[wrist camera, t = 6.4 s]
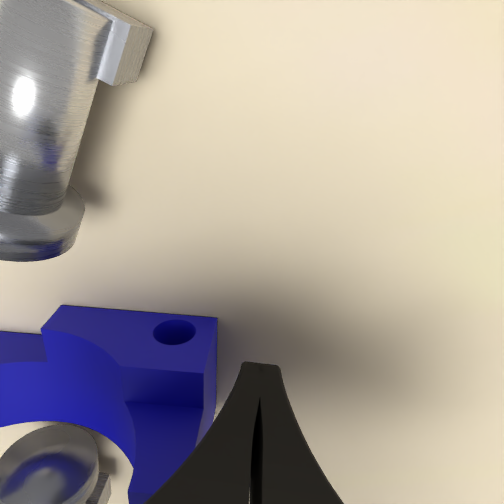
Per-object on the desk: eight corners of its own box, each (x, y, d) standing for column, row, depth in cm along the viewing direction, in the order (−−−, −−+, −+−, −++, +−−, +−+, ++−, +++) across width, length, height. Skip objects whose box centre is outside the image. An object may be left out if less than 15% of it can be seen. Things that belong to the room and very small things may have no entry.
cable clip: (217, 317, 16) (182, 458, 10) (215, 405, 18) (186, 562, 12) (-91, 292, 16) (-279, 414, 11) (-59, 381, 18) (-204, 521, 13)
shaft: (95, 225, 13) (35, 280, 10) (-15, 175, 13) (-115, 216, 10) (160, 32, 11) (109, 24, 8) (27, -39, 10) (-90, -80, 7)
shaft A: (27, 419, 18) (-31, 502, 14) (111, 430, 17) (72, 516, 14) (39, 483, 19) (-10, 570, 16) (115, 494, 19) (81, 582, 16)
